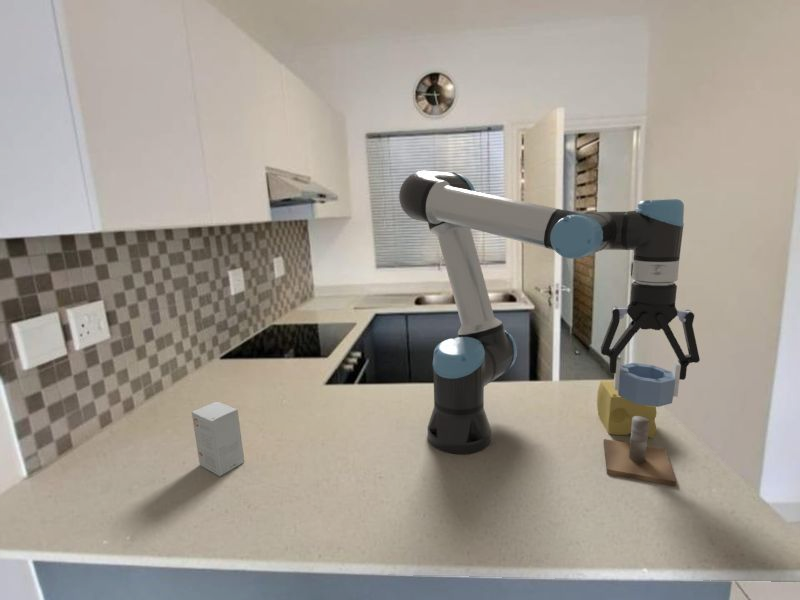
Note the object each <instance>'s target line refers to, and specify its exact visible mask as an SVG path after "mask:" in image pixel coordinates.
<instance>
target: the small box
mask: <svg viewBox="0 0 800 600" xmlns="http://www.w3.org/2000/svg"><path fill="white" fill-rule="evenodd" d="M191 417H192V423H193V424H192V425H193V430H194V437H195V443H196V451H197V456H198V463H199V466H201V467H203V468H204V469H206V470H207V471H209V472H212V473H213V474H215V475H216V476H217V477H221V476H223V475H225V474H226V473H228V472H230V471H232V470H233V469H235V468H237V467H238V466H240V465H242V464H243V463H245V455H244V449H243V441H242V433H241V425H240V419H239V410H238V409H237V408H235V407H232V406H229V405H227V404H224V403H222V402H220V401H215V402H211V403H210V404H208V405H205V406H202V407H200V408H197V409H195V410H193V411H191Z"/></svg>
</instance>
